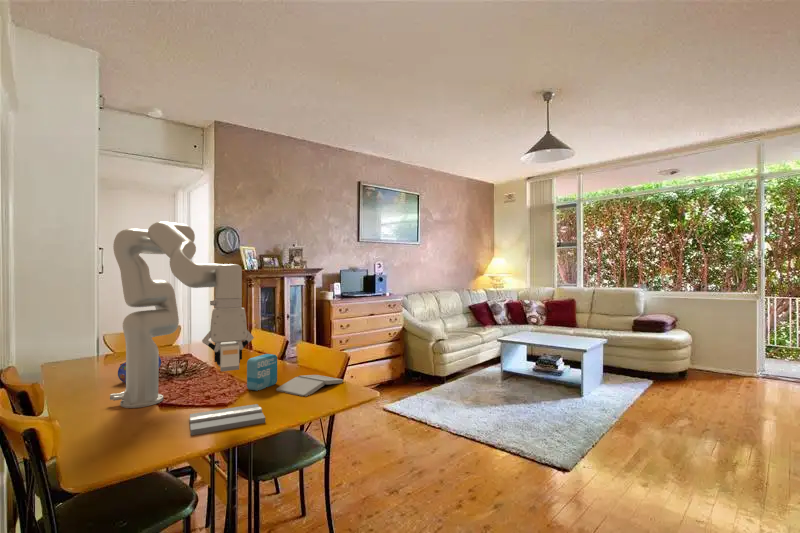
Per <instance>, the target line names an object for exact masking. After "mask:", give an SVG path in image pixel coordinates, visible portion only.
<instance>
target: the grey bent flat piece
mask: <svg viewBox="0 0 800 533" xmlns="http://www.w3.org/2000/svg"><path fill="white" fill-rule="evenodd" d="M342 382H343V383H344V379H342V378H337V377H332V376H331V377H330V376H325V375H320V374H307V375H298V376H295V377H294V378H291V379H290V380H288V381H287V382H285V383H283V384H282V385H280V386H278V387H276V388H275V391H276V392H280V393H284V392H285V393H284V394H288V395H289V394H290V395H294V396H298V395H299V397H303V396H305V397H308V395H309V396H311V395H313V394H314V393H315V392H317V391H318V390H320V389H321V388H322V387H324V386H325V385H336V384H342ZM310 394H311V395H310Z"/></svg>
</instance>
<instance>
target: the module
mask: <svg viewBox="0 0 800 533" xmlns="http://www.w3.org/2000/svg"><path fill="white" fill-rule="evenodd" d="M219 351H220V365H217V366H218V367H219V368H220V372H228V371H230V372H231V371H237V370H240V363H239V345H238V344H237V342H236V341H233V342H221V344H220V347H219Z"/></svg>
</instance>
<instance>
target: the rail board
mask: <svg viewBox="0 0 800 533" xmlns="http://www.w3.org/2000/svg"><path fill="white" fill-rule="evenodd" d="M265 423H266V416H265V415H264V412H263V408H262V407H261V406H259V404H258V403H255V404H247V405H241V406H235V407H227V408H221V409H213V410H208V411H203V412H202V411H201V412H195V413H189V429H190V436H196V435H201V434H207V433H213V432H218V431H224V430H230V429H236V428H241V427H243V428H244V427H248V426H253V425H254V426H255V425H258V424H265Z"/></svg>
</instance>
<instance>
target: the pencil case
mask: <svg viewBox="0 0 800 533" xmlns="http://www.w3.org/2000/svg"><path fill="white" fill-rule="evenodd" d="M161 365H162V359H161V357H160V356H159V368H160V367H161ZM117 378H118V379H119V381H121V382H122V383H124V384H126V361H125V362H123V363H122V364H121V365H119V367H118V369H117Z"/></svg>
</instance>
